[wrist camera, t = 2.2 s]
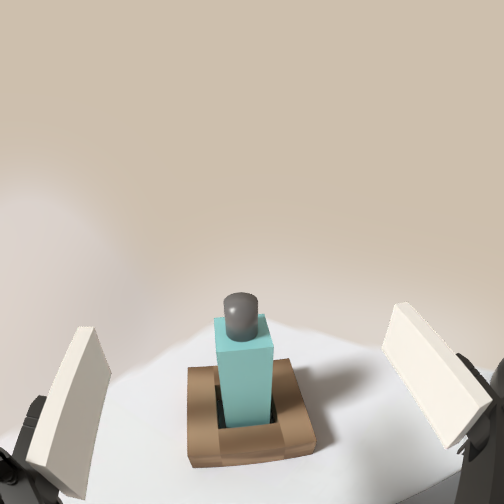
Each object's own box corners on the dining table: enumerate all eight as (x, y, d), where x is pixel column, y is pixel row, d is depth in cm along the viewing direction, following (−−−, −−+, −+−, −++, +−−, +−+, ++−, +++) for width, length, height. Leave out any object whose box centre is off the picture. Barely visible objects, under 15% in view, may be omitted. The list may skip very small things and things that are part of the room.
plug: (224, 405, 31) (211, 288, 25) (262, 401, 32) (264, 284, 25) (227, 436, 27) (212, 321, 21) (268, 431, 28) (274, 315, 21)
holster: (191, 383, 34) (187, 367, 33) (287, 374, 36) (289, 358, 34) (192, 467, 23) (187, 455, 22) (312, 454, 25) (316, 440, 24)
